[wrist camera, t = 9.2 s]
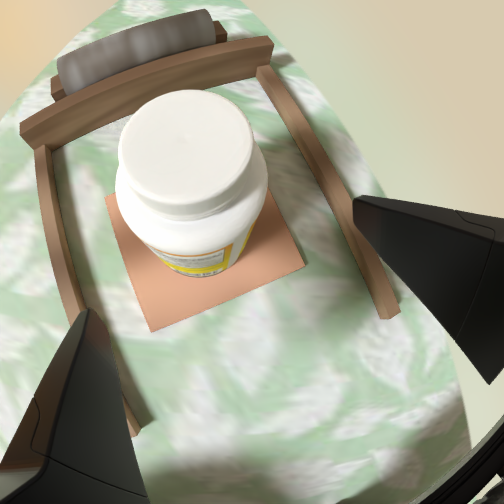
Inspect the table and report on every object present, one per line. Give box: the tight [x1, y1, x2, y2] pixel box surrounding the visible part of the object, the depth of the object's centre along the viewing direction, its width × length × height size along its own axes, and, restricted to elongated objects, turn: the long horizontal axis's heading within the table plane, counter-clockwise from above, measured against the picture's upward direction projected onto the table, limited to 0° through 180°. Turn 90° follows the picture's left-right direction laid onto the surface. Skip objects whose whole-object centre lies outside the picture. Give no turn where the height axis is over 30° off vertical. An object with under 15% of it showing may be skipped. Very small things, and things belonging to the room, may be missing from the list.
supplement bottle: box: [115, 90, 268, 278], centre depth 13 cm, size 6×6×10 cm
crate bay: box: [20, 9, 401, 437], centre depth 16 cm, size 25×19×5 cm
